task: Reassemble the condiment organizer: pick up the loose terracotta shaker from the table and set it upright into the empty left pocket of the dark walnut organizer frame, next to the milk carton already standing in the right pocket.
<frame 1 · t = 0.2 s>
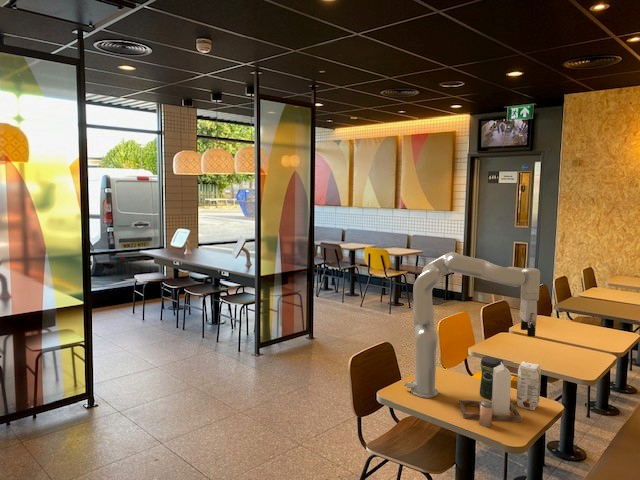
hand: (527, 333, 215), 31 cm above the table, fingers open, 9 cm apart
milk: (500, 413, 204), resting in organizer
coffee jar: (490, 397, 221), on the table
shaker: (485, 424, 194), on the table
juice carton: (527, 406, 211), on the table
organizer: (488, 412, 204), on the table
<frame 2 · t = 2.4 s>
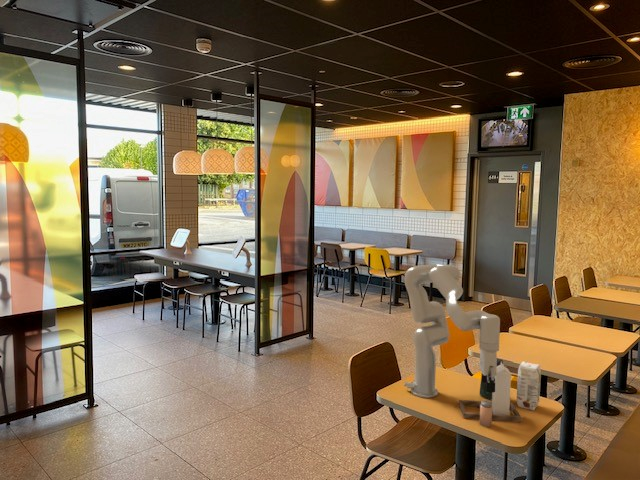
hand: (487, 387, 192), 16 cm above the table, fingers open, 9 cm apart
nothing on the table moved.
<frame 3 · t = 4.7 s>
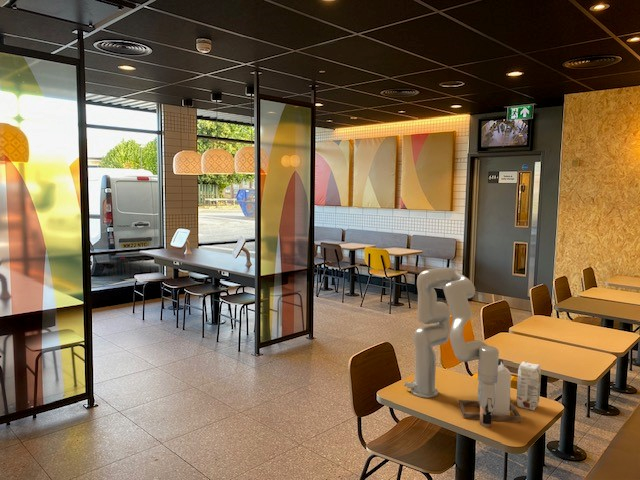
hand: (485, 420, 194), 2 cm above the table, fingers closed on shaker, 4 cm apart
shaker: (485, 424, 194), on the table, touching gripper
everything else where it was.
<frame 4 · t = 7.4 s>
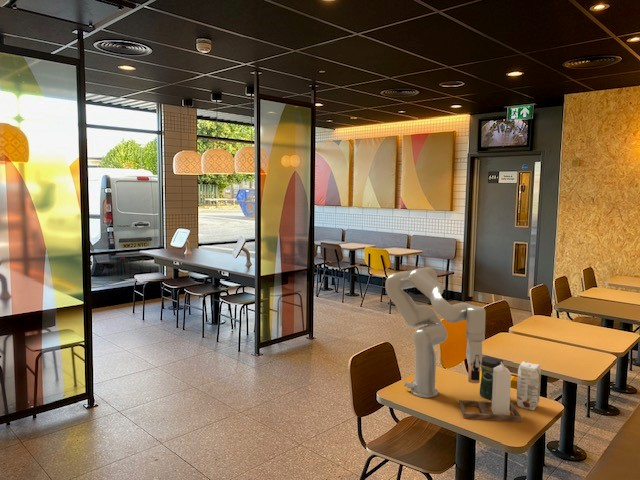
hand: (473, 377, 204), 15 cm above the table, fingers closed on shaker, 4 cm apart
shaker: (473, 381, 204), point 14 cm above the table, touching gripper
everything else where it was.
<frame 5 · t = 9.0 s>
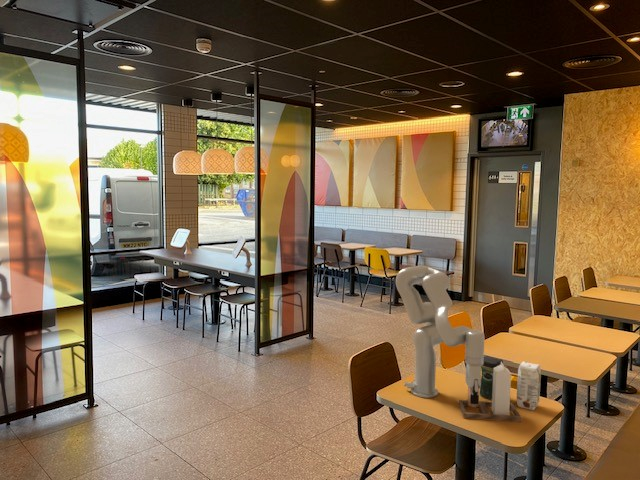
hand: (473, 400, 204), 5 cm above the table, fingers closed on shaker, 4 cm apart
shaker: (473, 404, 205), point 3 cm above the table, touching gripper
everything else where it was.
when the fingers open (4 cm above the table, at t = 10.1 s): shaker drops 2 cm, resting in organizer.
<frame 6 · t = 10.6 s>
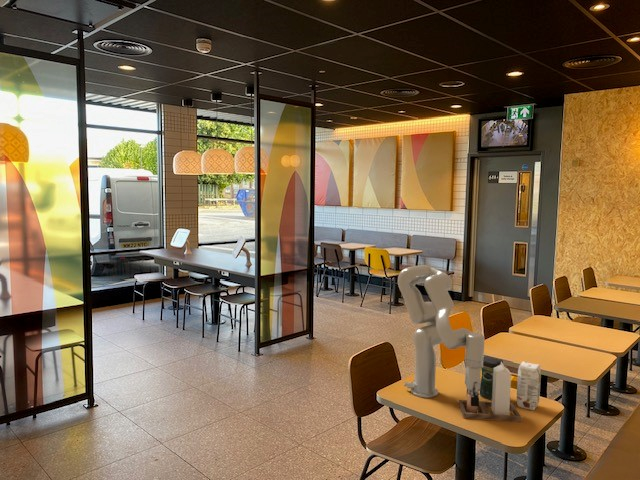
hand: (472, 400, 205), 5 cm above the table, fingers open, 9 cm apart
shaker: (472, 411, 205), resting in organizer
everything else where it was.
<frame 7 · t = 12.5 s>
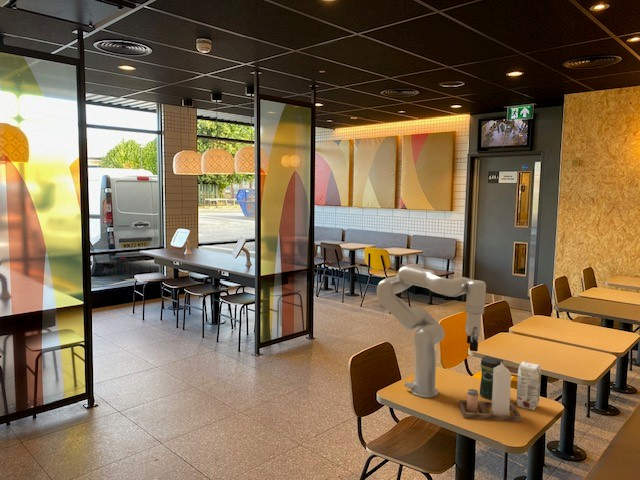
hand: (472, 347, 208), 27 cm above the table, fingers open, 9 cm apart
nothing on the table moved.
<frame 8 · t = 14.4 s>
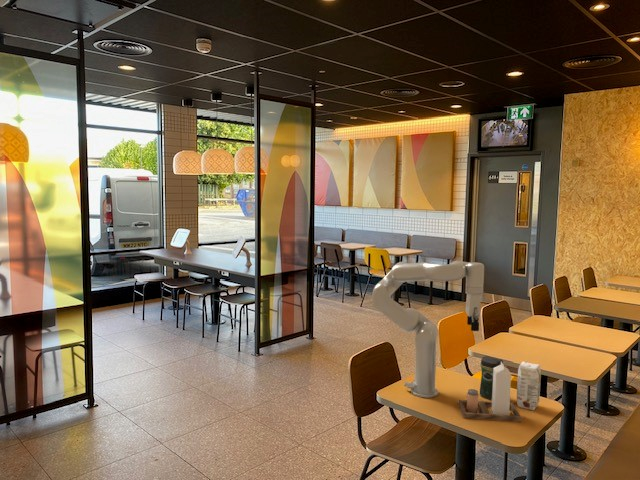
hand: (472, 327, 214), 33 cm above the table, fingers open, 9 cm apart
nothing on the table moved.
at the end: shaker inside the target area on the organizer (0.0 cm from its centre), point 0.0 cm above the organizer's base; shaker tilted 0° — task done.
